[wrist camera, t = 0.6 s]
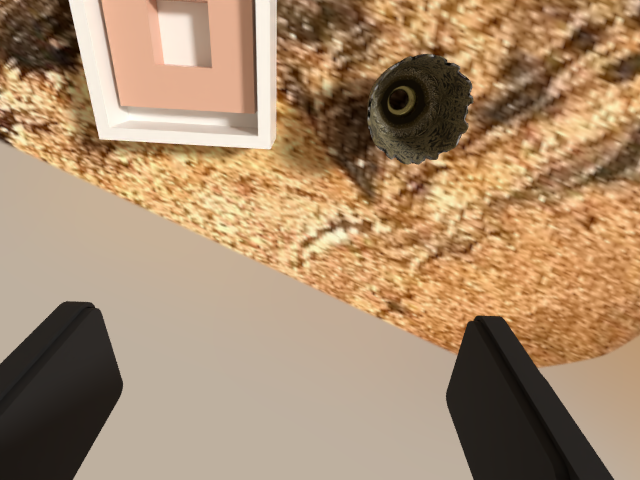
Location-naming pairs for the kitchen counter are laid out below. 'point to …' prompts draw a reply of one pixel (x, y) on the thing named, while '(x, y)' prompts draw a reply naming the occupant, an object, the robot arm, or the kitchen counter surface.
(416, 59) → the cup
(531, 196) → the kitchen counter surface
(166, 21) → the open-top box
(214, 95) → the bored plate
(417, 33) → the kitchen counter surface
